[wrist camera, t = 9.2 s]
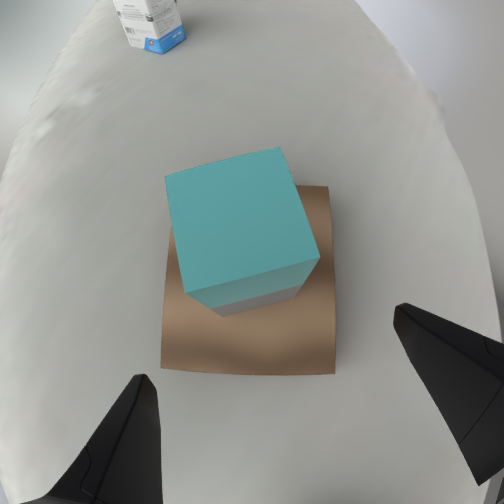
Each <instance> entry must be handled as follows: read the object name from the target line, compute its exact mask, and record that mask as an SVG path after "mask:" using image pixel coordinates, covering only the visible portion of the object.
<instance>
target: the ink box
mask: <svg viewBox="0 0 504 504" xmlns="http://www.w3.org/2000/svg"><path fill="white" fill-rule="evenodd" d="M113 2H114V4H115V7H116V10H117V12H118V15H119V17H120V20H121V22H122V25H123V27H124V30H125V32H126V35H127V37H128V40H129V43H130V45H131V46H133V47H137V48H141V49H145V50H148V51H152V52H155V53H159V54H164V53H165V52H167V51H168V50H169V49H171V48H172V47H174V46H175V45H177V44H178V43H180V42H181V41H183V40H185V35H184V30H183V26H182V22H181V18H180V14H179V10H178V6H177V1H176V0H113Z"/></svg>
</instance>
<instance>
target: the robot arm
mask: <svg viewBox="0 0 504 504" xmlns="http://www.w3.org/2000/svg"><path fill="white" fill-rule="evenodd" d="M393 325H394V329H395V331H396V333H397V335H398V337H399V339H400V341H401V343H402V345H403V347H404V349H405V351H406V353H407V356H408V358H409V360H410V361H411V363H412V365H413V367H414V368H415V370H416V371H417V373H418V375H419V376H420V378H421V380H422V381H423V383H424V385H425V386H426V388H427V390H428V392H429V393H430V395H431V397H432V398H433V400H434V402H435V404H436V405H437V407H438V409H439V411H440V412H441V414H442V416H443V418H444V420H445V421H446V423H447V425H448V427H449V429H450V431H451V432H452V434H453V436H454V438H455V440H456V442H457V444H458V446H459V448H460V450H461V452H462V454H463V456H464V458H465V460H466V462H467V464H468V466H469V468H470V470H471V472H472V474H473V476H474V478H475V481H476V483H477V484H478V486H480V485H481V484H483V483H484V482H485V481H487V480H488V479H490V478H491V477H492V476H493V475H495V474H496V473H497V472H499V471H500V470H501V469H502V468H504V344H503V343H500V342H498V341H495V340H493V339H490V338H488V337H486V336H483V335H481V334H479V333H476V332H474V331H472V330H469V329H467V328H465V327H462V326H460V325H458V324H455V323H453V322H451V321H448V320H446V319H444V318H441V317H439V316H437V315H434V314H432V313H430V312H427V311H425V310H423V309H420V308H418V307H416V306H413V305H411V304H408V303H402V304H400V305H397V306H396V307H395V312H394V321H393ZM21 504H163V494H162V472H161V427H160V418H159V408H158V398H157V391H156V388H155V386H154V385H153V383H152V382H151V381H150V379H149V378H148V376H147V375H146V374H138V375H134V376H133V378H132V379H131V380H130V382H129V383H128V385H127V386H126V387H125V389H124V390H123V392H122V393H121V394H120V396H119V397H118V399H117V400H116V402H115V403H114V404H113V406H112V407H111V409H110V410H109V412H108V413H107V414H106V416H105V417H104V419H103V420H102V422H101V423H100V425H99V426H98V427H97V429H96V430H95V432H94V433H93V435H92V436H91V438H90V439H89V441H88V442H87V444H86V446H84V448H83V449H82V451H81V452H80V454H79V455H78V456H77V458H76V459H75V461H74V462H73V463H72V465H71V466H70V467H69V468H68V470H67V471H66V472H65V473H64V474H63V476H62V477H61V478H60V479H59V480H58V482H57V483H56V484H55V485H54V486H53V488H52V489H51V490H50V491H49V492H48V493H47V494H46V495H44V496H43V497H41V498H39V499H36V500H32V501H28V502H25V503H21ZM496 504H504V477H503V480H502V483H501V487H500V491H499V494H498V497H497V500H496Z"/></svg>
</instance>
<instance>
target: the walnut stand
mask: <svg viewBox="0 0 504 504" xmlns="http://www.w3.org/2000/svg"><path fill="white" fill-rule="evenodd" d="M295 186H296V185H295ZM296 189H297V192H298V194H299V197H300V200H301V203H302V205H303V208H304V211H305V214H306V216H307V219H308V222H309V225H310V228H311V230H312V233H313V236H314V239H315V242H316V245H317V248H318V251H319V254H320V259H319V260H318V262H317V263H316V265H315V266H314V268H313V270H312V271H311V273H310V274H309V276H308V277H307V279H306V280H305V282H304V283H303V285H302V287H301V288H300V290H299V291H298V293H297V294H296V296H295V297H294V298H293V299H289V300H286V301H282V302H278V303H275V304H271V305H268V306H264V307H260V308H256V309H253V310H249V311H245V312H241V313H237V314H233V315H229V316H225V317H222V316H220V315H218V314H217V313H215V312H214V311H212V310H210V309H209V308H207V307H206V306H204V305H203V304H201V303H199V302H198V301H196V300H195V299H193V298H192V297H190V296H189V295H187V294H186V293H185V292H184V287H183V282H182V277H181V272H180V267H179V262H178V256H177V251H176V245H175V240H174V234H173V228H172V226H171V234H170V242H169V251H168V261H167V271H166V282H165V294H164V307H163V322H162V341H161V368H163V369H172V370H182V371H192V372H205V373H219V374H239V375H321V374H335V353H336V317H335V278H334V257H333V240H332V226H331V213H330V202H329V191H328V187H325V186H296Z"/></svg>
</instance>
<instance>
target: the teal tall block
mask: <svg viewBox="0 0 504 504" xmlns="http://www.w3.org/2000/svg"><path fill="white" fill-rule="evenodd" d="M165 183H166V190H167V197H168V203H169V210H170V216H171V222H172V228H173V234H174V240H175V245H176V251H177V256H178V262H179V267H180V272H181V277H182V282H183V287H184V292H185V293H186V294H187V295H189V296H190V297H192V298H193V299H195V300H196V301H198V302H199V303H201V304H203V305H204V306H206V307H207V308H209V309H210V310H212V311H214V312H215V313H217V314H218V315H220V316H222V317H225V316H229V315H233V314H237V313H241V312H245V311H249V310H253V309H256V308H260V307H264V306H268V305H271V304H275V303H278V302H282V301H286V300H289V299H293V298H294V297H295V296H296V294H297V293H298V291H299V290H300V288H301V287H302V285H303V283H304V282H305V280H306V279H307V277H308V276H309V274H310V273H311V271H312V270H313V268H314V266H315V265H316V263H317V262H318V260H319V259H320V254H319V251H318V248H317V245H316V242H315V239H314V236H313V233H312V230H311V228H310V225H309V222H308V219H307V216H306V214H305V211H304V208H303V205H302V203H301V200H300V197H299V194H298V192H297V189H296V186H295V184H294V181H293V179H292V176H291V173H290V171H289V168H288V166H287V163H286V161H285V158H284V156H283V153H282V151H281V148H280V147H278V148H273V149H268V150H264V151H259V152H255V153H250V154H246V155H242V156H238V157H234V158H230V159H226V160H222V161H218V162H214V163H210V164H206V165H203V166H199V167H195V168H192V169H188V170H185V171H181V172H178V173H174V174H171V175H168V176H165Z"/></svg>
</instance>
